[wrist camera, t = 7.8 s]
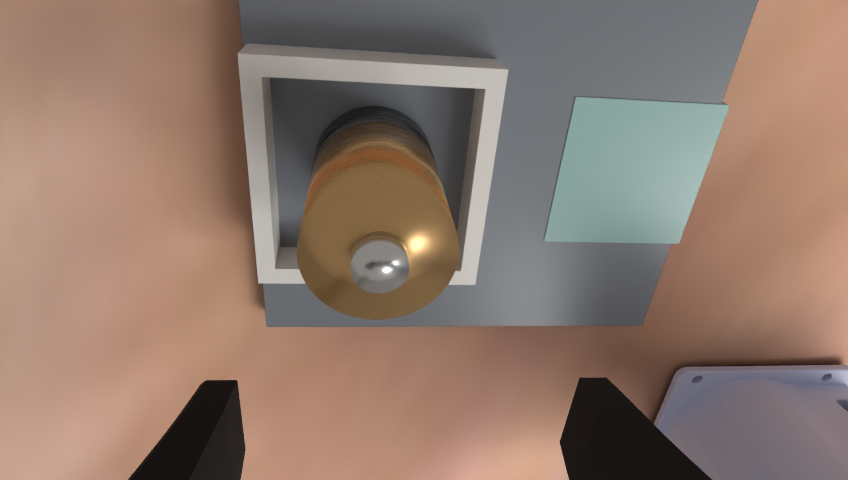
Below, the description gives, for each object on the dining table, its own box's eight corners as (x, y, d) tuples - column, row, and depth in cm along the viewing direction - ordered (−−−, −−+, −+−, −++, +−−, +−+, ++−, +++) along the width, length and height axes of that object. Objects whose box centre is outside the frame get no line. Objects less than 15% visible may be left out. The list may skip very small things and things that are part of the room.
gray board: (761, -32, 17) (813, -27, 15) (639, 314, 24) (665, 348, 22) (237, -79, 15) (219, -80, 13) (269, 314, 22) (260, 352, 20)
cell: (438, 109, 18) (474, 194, 12) (427, 217, 20) (454, 335, 14) (313, 102, 17) (290, 188, 11) (315, 214, 19) (295, 335, 13)
